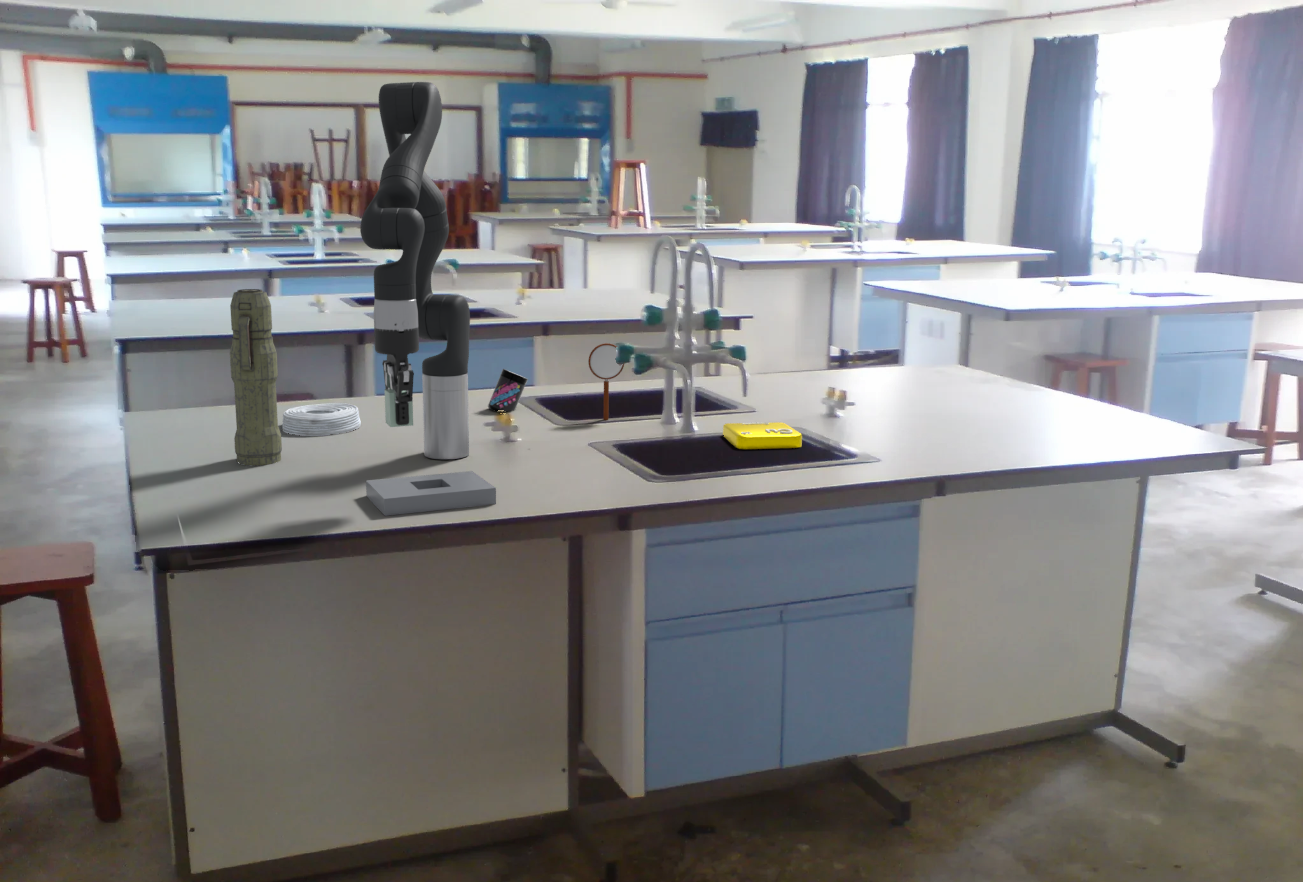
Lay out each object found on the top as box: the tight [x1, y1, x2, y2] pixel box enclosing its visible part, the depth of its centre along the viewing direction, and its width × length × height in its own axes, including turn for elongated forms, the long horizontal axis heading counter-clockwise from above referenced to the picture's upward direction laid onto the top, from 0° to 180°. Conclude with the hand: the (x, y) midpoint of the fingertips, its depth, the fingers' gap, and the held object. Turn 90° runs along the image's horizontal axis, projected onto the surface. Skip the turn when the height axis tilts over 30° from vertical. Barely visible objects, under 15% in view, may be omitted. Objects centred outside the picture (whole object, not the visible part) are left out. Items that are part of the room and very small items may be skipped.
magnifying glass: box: [588, 342, 625, 421], centre depth 279 cm, size 9×2×20 cm, turn 101°
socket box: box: [365, 470, 497, 516], centre depth 211 cm, size 14×20×3 cm
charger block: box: [384, 389, 414, 428], centre depth 206 cm, size 4×4×6 cm
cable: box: [281, 402, 362, 437], centre depth 267 cm, size 18×18×6 cm
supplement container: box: [487, 368, 529, 413], centre depth 289 cm, size 7×7×10 cm
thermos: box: [229, 288, 283, 467], centre depth 233 cm, size 9×12×35 cm
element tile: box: [722, 421, 803, 450], centre depth 261 cm, size 15×15×5 cm
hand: (399, 421), depth 207 cm, fingers closed on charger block, 4 cm apart
